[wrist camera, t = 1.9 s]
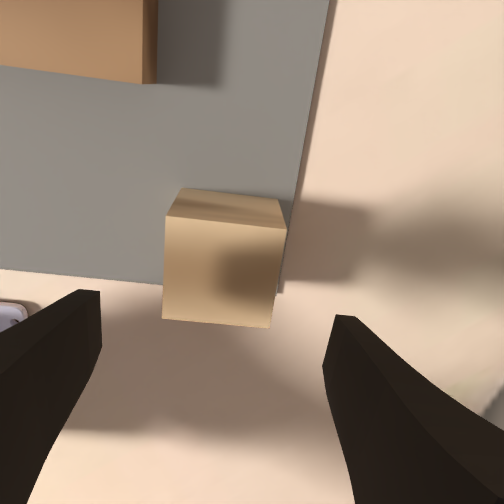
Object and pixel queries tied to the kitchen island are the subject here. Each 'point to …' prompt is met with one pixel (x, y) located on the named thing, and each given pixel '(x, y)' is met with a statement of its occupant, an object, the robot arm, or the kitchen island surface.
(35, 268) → the mat
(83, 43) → the walnut slab
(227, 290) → the maple block
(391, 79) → the kitchen island surface
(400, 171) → the kitchen island surface
